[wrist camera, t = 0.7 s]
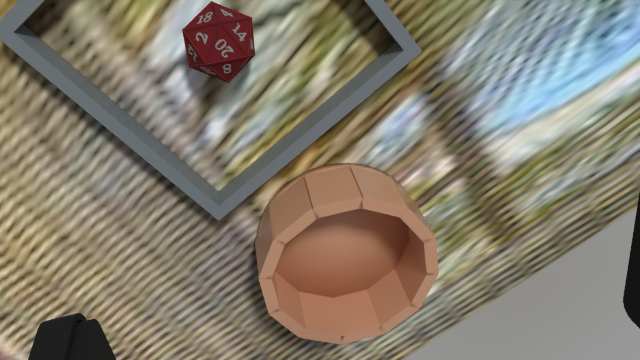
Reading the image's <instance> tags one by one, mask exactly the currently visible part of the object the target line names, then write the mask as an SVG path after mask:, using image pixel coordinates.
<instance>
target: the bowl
mask: <svg viewBox="0 0 640 360" xmlns="http://www.w3.org/2000/svg"><path fill="white" fill-rule="evenodd" d="M255 247H256V257H257V267H258V278H259V282H260V285H261V289H262V292H263V296H264V299H265V303H266V306H267V310H268V313H269V315H270V316H272V317H273V318H274V319H276V320H277V321H278V322H279V323H281V324H282V325H283V326H285V327H286V328H287V329H289V330H290V331H291V332H293V333H294V334H295V335H296V336H298V337H300V338H303V339H310V340H316V341H322V342H328V343H334V344H341V343H342V344H346V343H350V342H354V341H358V340H362V339H366V338H370V337H374V336H379V335H383V332H384V333H387V332H388V331H389V330H391V329H392V328H393V327H395V326H396V325H398V324H399V323H400V322H402V321H403V320H405V319H406V318H407V317H409V316H410V315H412V314H413V313H414V312H416V311H417V310H419V309H418V308H420V307H421V305H422V303H423V302H424V300H425V298H426V296H427V294H428V292H429V291H430V289H431V287H432V285H433V283H434V281H435V280H436V278H437V276H438V273H439V272H438V260H437V249H436V237H435V235H434V234H433V232H432V230H431V228H430V227H429V225H428V223H427V221H426V220H425V218H424V216H423V214H422V213H421V211H420V209H419V207H418V206H417V204H416V203H415V202H414V201H413V200H412V199H411V197H410V196H409V195H408V194H407V192H406V191H405V189H404V188H403V187H402V186H401V184H399V183H398V182H397V181H396V180H395V179H394V178H393V177H391V176H390V175H388V174H387V173H385V172H383V171H381V170H379V169H376V168H373V167H370V166H367V165H362V164H355V163H336V164H330V165H324V166H321V167H317V168H314V169H311V170H309V171H307V172H304V173H302V174H300V175H299V176H297V177H295V178H293V179H292V180H291V181H289V182H288V183H286V184H285V185H284V186H283V187H282V188H281V189H280V190H279V191H277V192H276V194H275V195H274V196H273V197H272V199H271V200H270V201H269V203H268V204H267V206H266V208H265V209H264V212H263V214H262V216H261V219H260V222H259V226H258V233H257V238H256V240H255Z"/></svg>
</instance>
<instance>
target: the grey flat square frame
mask: <svg viewBox="0 0 640 360" xmlns="http://www.w3.org/2000/svg"><path fill="white" fill-rule="evenodd" d="M45 1H46V0H19V1H18V2H17V3H16V4H15V5H14V6H13V7H12V8H11V10H10V11H9V12H8V13H7V14H6V15H5V16H4V17H3V18H2V19H1V20H0V40H1V41H2V42H3V43H4V44H6V45H7V46H8V47H9V48H10V49H12V50H13V51H14V52H15V53H16V54H18V55H19V56H20V57H21V58H22V59H24V60H25V61H26V62H27V63H29V64H30V65H31V66H32V67H33V68H35V69H36V70H37V71H38V72H39V73H41V74H42V75H43V76H44V77H45V78H47V79H48V80H49V81H50V82H51V83H53V84H54V85H55V86H56V87H58V88H59V89H60V90H61V91H62V92H64V93H65V94H66V95H67V96H68V97H70V98H71V99H72V100H73V101H74V102H76V103H77V104H78V105H79V106H80V107H82V108H83V109H84V110H85V111H87V112H88V113H89V114H90V115H91V116H93V117H94V118H95V119H96V120H97V121H99V122H100V123H101V124H102V125H103V126H105V127H106V128H107V129H108V130H109V131H111V132H112V133H113V134H114V135H116V136H117V137H118V138H119V139H120V140H122V141H123V142H124V143H125V144H126V145H128V146H129V147H130V148H131V149H132V150H134V151H135V152H136V153H137V154H138V155H140V156H141V157H142V158H143V159H145V160H146V161H147V162H148V163H149V164H151V165H152V166H153V167H154V168H155V169H157V170H158V171H159V172H160V173H161V174H163V175H164V176H165V177H166V178H167V179H169V180H170V181H171V182H172V183H174V184H175V185H176V186H177V187H178V188H180V189H181V190H182V191H183V192H184V193H186V194H187V195H188V196H189V197H190V198H192V199H193V200H194V201H195V202H196V203H198V204H199V205H200V206H201V207H203V208H204V209H205V210H206V211H207V212H209V213H210V214H211V215H212V216H213V217H215V218H216V219H217V220H218V221H219V220H220V219H222V218H223V217H224V216H225V215H226V214H228V213H229V212H230V211H231V210H232V209H234V208H235V207H236V206H237V205H238V204H240V203H241V202H242V201H243V200H244V199H246V198H247V197H248V196H249V195H250V194H252V193H253V192H254V191H255V190H256V189H258V188H259V187H260V186H261V185H262V184H264V183H265V182H266V181H267V180H268V179H270V178H271V177H272V176H273V175H274V174H276V173H277V172H278V171H279V170H280V169H282V168H283V167H284V166H285V165H286V164H288V163H289V162H290V161H291V160H292V159H294V158H295V157H296V156H297V155H298V154H300V153H301V152H302V151H303V150H304V149H306V148H307V147H308V146H309V145H311V144H312V143H313V142H314V141H315V140H317V139H318V138H319V137H320V136H321V135H323V134H324V133H325V132H326V131H327V130H329V129H330V128H331V127H332V126H333V125H335V124H336V123H337V122H338V121H339V120H341V119H342V118H343V117H344V116H345V115H347V114H348V113H349V112H350V111H351V110H353V109H354V108H355V107H356V106H357V105H359V104H360V103H361V102H362V101H363V100H365V99H366V98H367V97H368V96H369V95H371V94H372V93H373V92H374V91H375V90H377V89H378V88H379V87H380V86H381V85H383V84H384V83H385V82H386V81H387V80H389V79H390V78H391V77H392V76H393V75H395V74H396V73H397V72H398V71H399V70H401V69H402V68H403V67H404V66H405V65H407V64H408V63H409V62H410V61H411V60H413V59H414V58H415V57H416V56H417V55H419V54H420V53H421V52H422V50H421V49H420V48H419V46H418V45H417V44H416V42H415V41H414V40H413V38H412V37H411V36H410V34H409V33H408V32H407V30H406V29H405V28H404V27H403V25H402V24H401V23H400V21H399V20H398V19H397V17H396V16H395V15H394V13H393V12H392V11H391V9H390V8H389V7H388V5H387V4H386V3H385V2H384V0H363V1H364V2H365V3H366V5H367V6H368V7H369V8H370V10H371V11H372V12H373V14H374V15H375V16H376V17H377V19H378V20H379V21H380V22H381V24H382V25H383V26H384V28H385V29H386V30H387V31H388V33H389V34H390V35H391V37H392V38H393V39H394V40H395V43H394V44H393V45H392V46H390V47H389V48H388V49H387V50H386V51H385V52H383V53H382V54H381V55H380V56H379V57H377V58H376V59H375V60H374V61H373V62H372V63H370V64H369V65H368V66H367V67H366V68H365V69H363V70H362V71H361V72H360V73H359V74H357V75H356V76H355V77H354V78H353V79H352V80H350V81H349V82H348V83H347V84H346V85H344V86H343V87H342V88H341V89H340V90H339V91H337V92H336V93H335V94H334V95H333V96H331V97H330V98H329V99H328V100H327V101H326V102H324V103H323V104H322V105H321V106H320V107H318V108H317V109H316V110H315V111H314V112H313V113H311V114H310V115H309V116H308V117H307V118H305V119H304V120H303V121H302V122H301V123H300V124H298V125H297V126H296V127H295V128H294V129H292V130H291V131H290V132H289V133H288V134H287V135H285V136H284V137H283V138H282V139H281V140H280V141H278V142H277V143H276V144H275V145H274V146H272V147H271V148H270V149H269V150H268V151H267V152H265V153H264V154H263V155H262V156H261V157H259V158H258V159H257V160H256V161H255V162H254V163H252V164H251V165H250V166H249V167H248V168H246V169H245V170H244V171H243V172H242V173H241V174H239V175H238V176H237V177H236V178H235V179H233V180H232V181H231V182H230V183H229V184H228V185H226V186H225V187H224V188H223V189H222V190H220V191H219V192H218V191H217V190H216V189H215V188H214V187H212V186H211V185H210V184H209V183H208V182H207V181H205V180H204V179H203V178H202V177H201V176H200V175H198V174H197V173H196V172H195V171H194V170H193V169H191V168H190V167H189V166H188V165H187V164H186V163H185V162H183V161H182V160H181V159H180V158H179V157H178V156H176V155H175V154H174V153H173V152H172V151H171V150H169V149H168V148H167V147H166V146H165V145H164V144H162V143H161V142H160V141H159V140H158V139H157V138H155V137H154V136H153V135H152V134H151V133H150V132H148V131H147V130H146V129H145V128H144V127H143V126H141V125H140V124H139V123H138V122H137V121H136V120H135V119H133V118H132V117H131V116H130V115H129V114H128V113H126V112H125V111H124V110H123V109H122V108H121V107H119V106H118V105H117V104H116V103H115V102H114V101H112V100H111V99H110V98H109V97H108V96H107V95H105V94H104V93H103V92H102V91H101V90H100V89H98V88H97V87H96V86H95V85H94V84H93V83H91V82H90V81H89V80H88V79H87V78H86V77H85V76H83V75H82V74H81V73H80V72H79V71H78V70H76V69H75V68H74V67H73V66H72V65H71V64H69V63H68V62H67V61H66V60H65V59H64V58H62V57H61V56H60V55H59V54H58V53H57V52H55V51H54V50H53V49H52V48H51V47H50V46H48V45H47V44H46V43H45V42H44V41H43V40H41V39H40V38H39V37H38V36H37V35H36V34H35V33H33V32H32V31H31V30H30V29H29V28H28V27H26V26H25V25H24V23H25V22H26V20H27V19H28V18H29V17H30V16H31V15H32V14H33V13H34V12H35V11H36V10H37V9H38V8H39V7H40V6H41V5H42V4H43V3H44V2H45Z"/></svg>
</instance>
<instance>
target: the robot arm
mask: <svg viewBox="0 0 640 360" xmlns="http://www.w3.org/2000/svg"><path fill="white" fill-rule="evenodd" d="M623 303H624V308H625V310H626V312H627V314H628V316H629V317H630V318H631V320H632V321H633V322H634V323H635V324H636V325H637V326H638V327H639V328H640V193H639V200H638V206H637V213H636V220H635V225H634V232H633V238H632V245H631V251H630V258H629V264H628V271H627V278H626V284H625V290H624V297H623ZM28 360H116V358H115V356H114V354H113V351H112V349H111V347H110V345H109V343H108V341H107V339H106V336H105V334H104V332H103V330H102V328H101V326H100V324H99V322H98V321H97V320H96V319H91V320H86V318H85V316H83V315H82V314H81V313H77V314H73V315H69V316H65V317H60V318H56V319H52V320H48V321H44V322H42V323H41V324H40V326H39V328H38V330H37V334H36V337H35V340H34V343H33V346H32V349H31V352H30V355H29V359H28Z"/></svg>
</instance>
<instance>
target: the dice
mask: <svg viewBox="0 0 640 360" xmlns="http://www.w3.org/2000/svg"><path fill="white" fill-rule="evenodd" d="M182 31H183V36H184V42H185V47H186V52H187V58H188V63H189V67H190V68H193V69H195V70H198V71H200V72H203V73H205V74H208V75H210V76H213V77H215V78H218V79H220V80H223V81H226V82H228V83H229V82H230V81H231V80H232V79H233V78H234V77H235V76H236V75H237V73H238V72H239V71H240V70H241V69H242V68H243V67H244V66H245V65H246V64H247V63H248V62H249V61H250V60H251V59H252V57H253V56H254V55H255V49H254V37H253V26H252V17H249V16H246V15H244V14H241V13H239V12H236V11H234V10H231V9H229V8H226V7H224V6H222V5H219V4H217V3H214V2H212V1H211V2H210V3H209V4H208V5H207V6H206V7H205V8H204V9H203V10H202V11H201V12H200V13H199V14H198V15H197V16H196V17H195V18H194V19H193V20H192V21H191V22H190V23H189V24H188V25H187V26H186V27H185V28H184V29H182Z"/></svg>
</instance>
